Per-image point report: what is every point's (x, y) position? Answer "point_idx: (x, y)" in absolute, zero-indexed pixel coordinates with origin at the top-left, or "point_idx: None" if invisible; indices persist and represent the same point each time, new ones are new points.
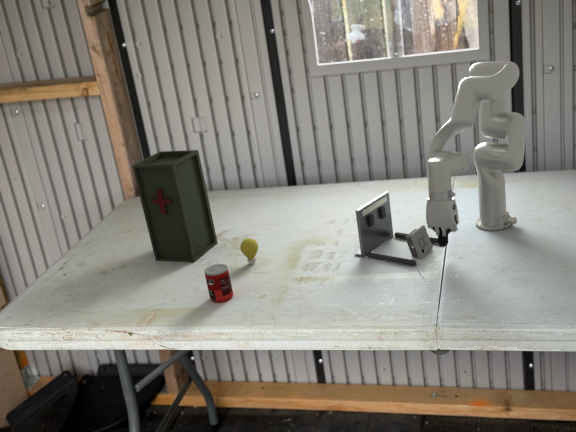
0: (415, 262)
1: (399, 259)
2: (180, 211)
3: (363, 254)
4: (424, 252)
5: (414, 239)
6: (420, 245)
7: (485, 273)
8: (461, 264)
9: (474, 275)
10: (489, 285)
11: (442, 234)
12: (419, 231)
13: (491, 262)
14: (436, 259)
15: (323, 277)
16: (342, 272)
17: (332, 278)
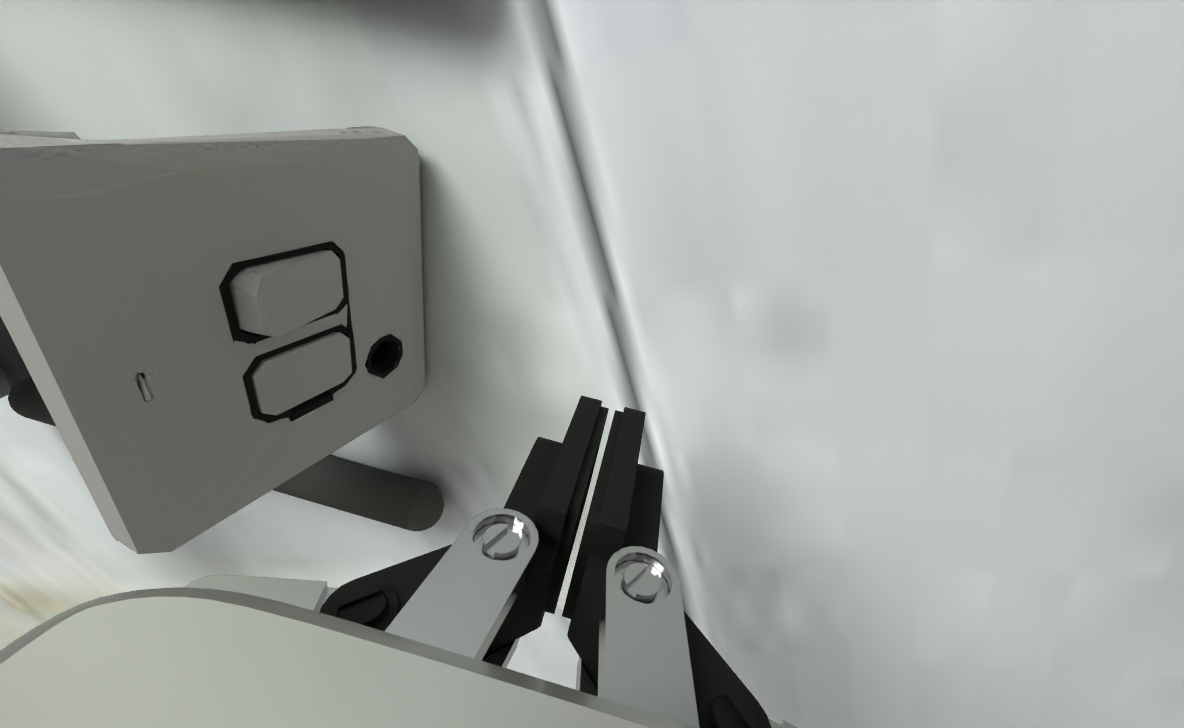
0: (433, 520)
1: (298, 497)
2: None
3: (3, 394)
4: (404, 331)
5: (229, 510)
6: (326, 390)
7: (1047, 595)
8: (815, 460)
9: (940, 616)
10: (1049, 723)
11: (579, 666)
12: (119, 386)
13: (1172, 411)
14: (557, 381)
15: (88, 597)
16: (114, 558)
17: None
